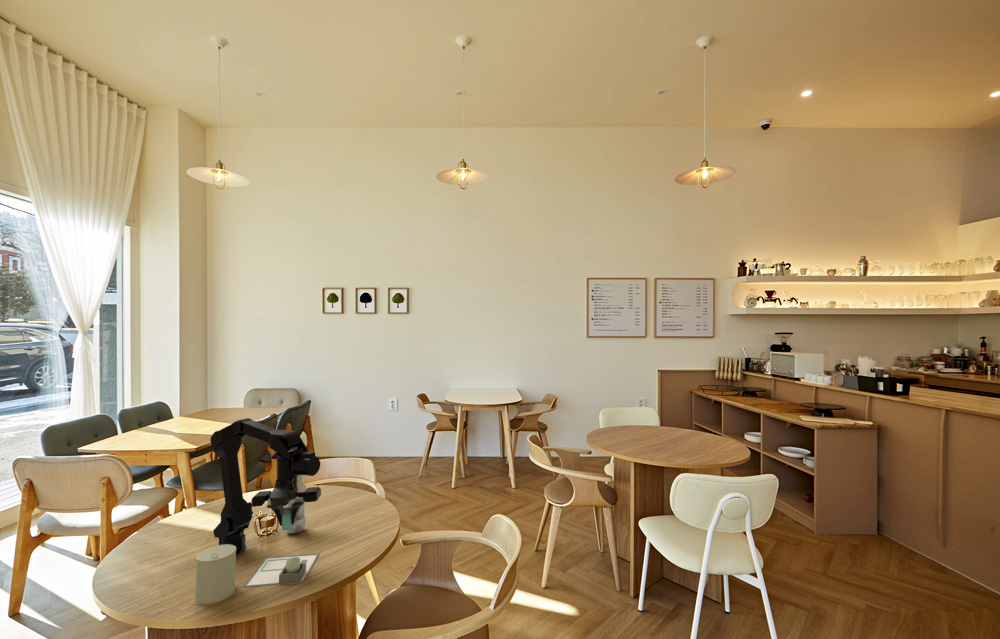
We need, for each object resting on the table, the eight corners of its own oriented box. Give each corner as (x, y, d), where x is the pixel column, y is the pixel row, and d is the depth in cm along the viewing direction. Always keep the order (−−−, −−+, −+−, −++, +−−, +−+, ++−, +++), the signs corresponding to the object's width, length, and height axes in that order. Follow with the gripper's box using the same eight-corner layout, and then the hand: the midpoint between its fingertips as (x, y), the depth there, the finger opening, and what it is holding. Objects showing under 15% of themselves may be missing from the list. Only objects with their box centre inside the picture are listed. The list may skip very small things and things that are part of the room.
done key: (284, 575, 120) (284, 564, 120) (288, 568, 124) (288, 557, 124) (297, 573, 121) (297, 563, 121) (301, 567, 124) (301, 556, 124)
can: (190, 610, 108) (191, 562, 109) (199, 590, 117) (200, 546, 117) (232, 601, 112) (233, 554, 113) (238, 583, 121) (239, 539, 121)
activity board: (242, 589, 117) (243, 578, 118) (265, 559, 133) (265, 549, 133) (304, 584, 120) (304, 573, 120) (319, 555, 136) (319, 546, 136)
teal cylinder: (280, 530, 130) (280, 509, 130) (283, 526, 133) (283, 506, 133) (290, 529, 130) (290, 508, 131) (294, 525, 133) (293, 505, 134)
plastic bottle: (280, 534, 151) (281, 476, 151) (296, 526, 157) (297, 471, 158) (294, 537, 148) (295, 479, 149) (309, 529, 154) (310, 473, 155)
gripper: (243, 484, 123) (243, 539, 122) (311, 479, 126) (312, 533, 125) (258, 472, 134) (258, 523, 133) (321, 468, 137) (321, 517, 136)
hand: (287, 524), depth 132 cm, fingers closed on teal cylinder, 3 cm apart
